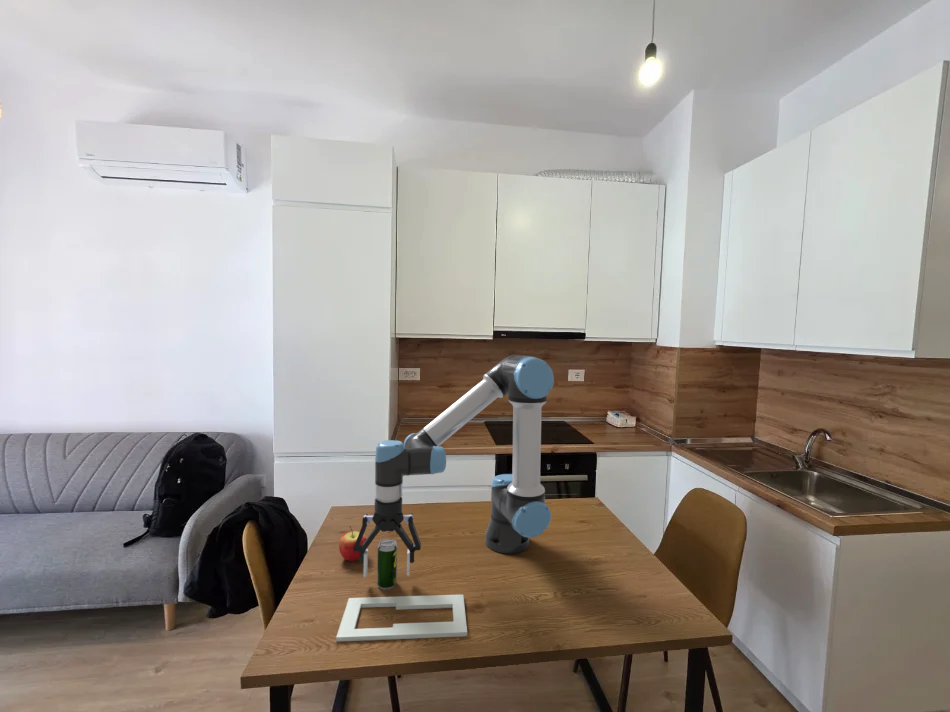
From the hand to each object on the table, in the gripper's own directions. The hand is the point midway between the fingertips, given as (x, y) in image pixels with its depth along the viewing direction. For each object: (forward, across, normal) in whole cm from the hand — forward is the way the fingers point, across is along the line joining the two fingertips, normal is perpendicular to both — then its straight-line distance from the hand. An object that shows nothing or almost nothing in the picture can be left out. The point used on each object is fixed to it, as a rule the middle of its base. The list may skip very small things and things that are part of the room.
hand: (387, 573), depth 116 cm
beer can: (+3, 0, 0) cm, 3 cm away
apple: (+3, +12, -14) cm, 19 cm away
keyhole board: (+3, -6, +14) cm, 16 cm away
